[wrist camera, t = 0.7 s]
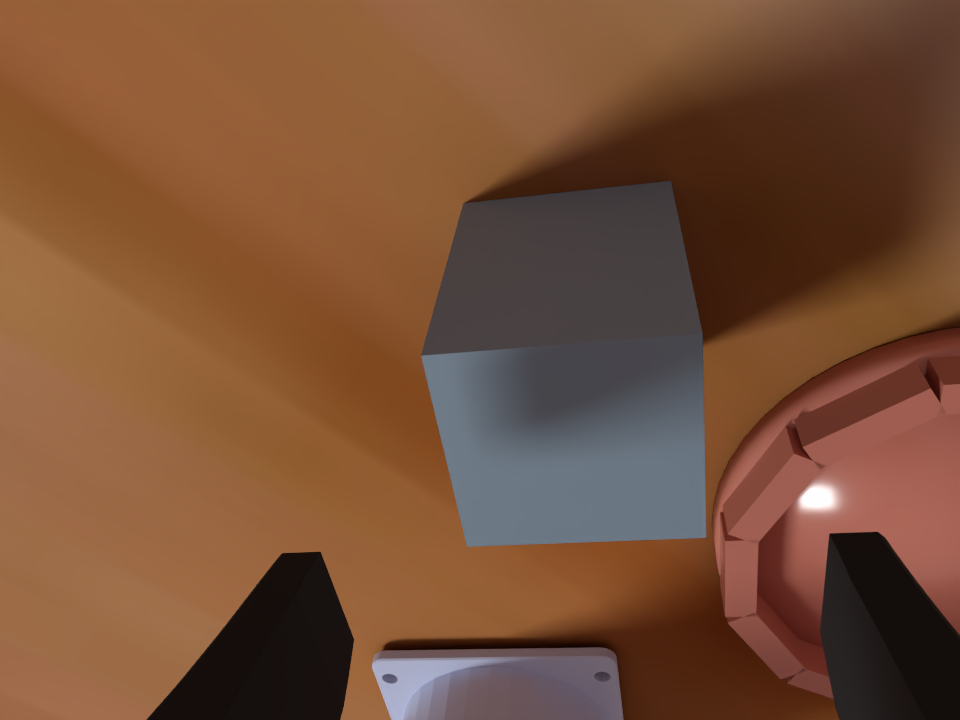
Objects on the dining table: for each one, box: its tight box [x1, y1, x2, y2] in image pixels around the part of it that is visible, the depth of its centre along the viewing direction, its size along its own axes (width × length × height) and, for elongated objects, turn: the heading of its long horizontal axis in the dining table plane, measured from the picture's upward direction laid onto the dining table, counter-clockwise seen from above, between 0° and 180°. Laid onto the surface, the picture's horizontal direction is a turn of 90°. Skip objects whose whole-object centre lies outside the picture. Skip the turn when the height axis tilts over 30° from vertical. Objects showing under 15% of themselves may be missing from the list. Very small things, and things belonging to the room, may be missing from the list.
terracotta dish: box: [712, 327, 960, 699], centre depth 22 cm, size 12×12×2 cm
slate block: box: [421, 181, 706, 547], centre depth 17 cm, size 4×4×6 cm
